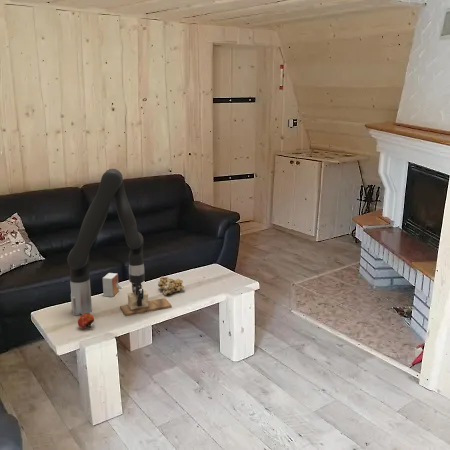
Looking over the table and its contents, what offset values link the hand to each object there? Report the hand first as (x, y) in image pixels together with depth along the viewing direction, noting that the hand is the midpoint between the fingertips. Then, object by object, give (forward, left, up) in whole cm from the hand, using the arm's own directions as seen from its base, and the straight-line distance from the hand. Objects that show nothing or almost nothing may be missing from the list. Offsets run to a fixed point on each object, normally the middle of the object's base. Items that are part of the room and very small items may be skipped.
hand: (138, 303), depth 244 cm
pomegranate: (-27, -9, -3) cm, 29 cm away
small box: (-8, +25, -3) cm, 27 cm away
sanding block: (0, 0, -2) cm, 2 cm away
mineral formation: (+22, +16, -3) cm, 28 cm away
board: (+4, 0, -3) cm, 5 cm away
